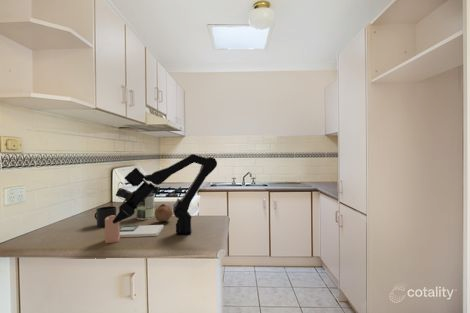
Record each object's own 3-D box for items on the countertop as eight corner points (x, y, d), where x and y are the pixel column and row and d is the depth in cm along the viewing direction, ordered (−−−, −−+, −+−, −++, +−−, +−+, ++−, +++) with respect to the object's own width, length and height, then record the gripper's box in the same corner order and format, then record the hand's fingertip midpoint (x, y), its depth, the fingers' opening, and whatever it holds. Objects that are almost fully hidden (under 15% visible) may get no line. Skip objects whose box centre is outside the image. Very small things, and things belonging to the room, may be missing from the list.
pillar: (119, 238, 115) (119, 214, 115) (118, 241, 110) (117, 216, 110) (107, 239, 114) (107, 215, 114) (105, 243, 109) (104, 217, 109)
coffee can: (135, 220, 146) (135, 195, 146) (137, 216, 156) (136, 193, 155) (154, 218, 149) (154, 194, 149) (154, 214, 159) (154, 192, 158)
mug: (101, 222, 144) (100, 206, 144) (120, 222, 142) (119, 206, 141) (88, 226, 135) (87, 209, 134) (108, 227, 132) (108, 210, 132)
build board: (163, 227, 131) (163, 223, 131) (157, 235, 117) (156, 231, 117) (123, 228, 130) (123, 225, 130) (111, 237, 116) (111, 233, 116)
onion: (161, 225, 134) (161, 206, 134) (151, 222, 140) (150, 204, 140) (176, 221, 142) (175, 203, 142) (165, 219, 148) (165, 201, 148)
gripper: (129, 179, 123) (104, 204, 120) (125, 183, 105) (95, 212, 102) (147, 195, 125) (123, 219, 122) (145, 201, 107) (117, 230, 104)
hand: (115, 220), depth 112 cm, fingers open, 9 cm apart
